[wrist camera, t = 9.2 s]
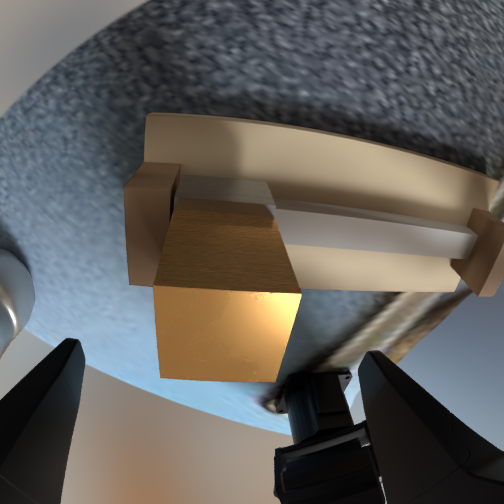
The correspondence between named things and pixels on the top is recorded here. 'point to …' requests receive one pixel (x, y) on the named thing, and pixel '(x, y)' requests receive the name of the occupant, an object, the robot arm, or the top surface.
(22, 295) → the plastic bottle
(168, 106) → the top surface
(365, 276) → the rail board
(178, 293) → the slider block
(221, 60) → the top surface
